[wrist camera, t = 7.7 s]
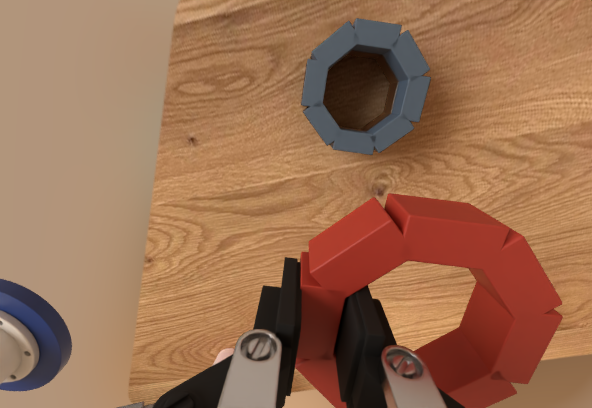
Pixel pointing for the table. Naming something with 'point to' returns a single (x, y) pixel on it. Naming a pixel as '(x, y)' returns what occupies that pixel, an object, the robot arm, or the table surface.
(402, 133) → the ring middle
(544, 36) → the table surface
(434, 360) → the ring top
